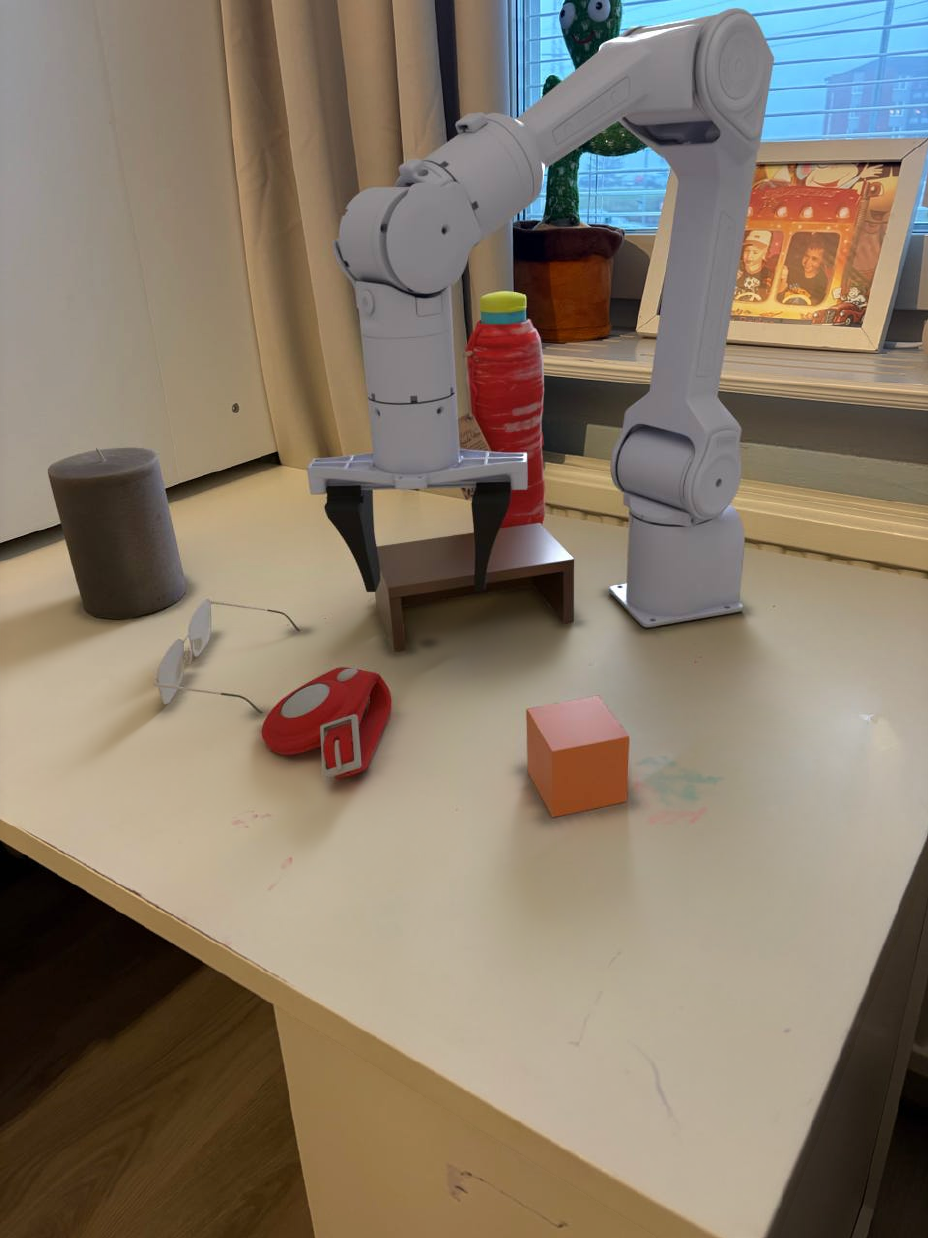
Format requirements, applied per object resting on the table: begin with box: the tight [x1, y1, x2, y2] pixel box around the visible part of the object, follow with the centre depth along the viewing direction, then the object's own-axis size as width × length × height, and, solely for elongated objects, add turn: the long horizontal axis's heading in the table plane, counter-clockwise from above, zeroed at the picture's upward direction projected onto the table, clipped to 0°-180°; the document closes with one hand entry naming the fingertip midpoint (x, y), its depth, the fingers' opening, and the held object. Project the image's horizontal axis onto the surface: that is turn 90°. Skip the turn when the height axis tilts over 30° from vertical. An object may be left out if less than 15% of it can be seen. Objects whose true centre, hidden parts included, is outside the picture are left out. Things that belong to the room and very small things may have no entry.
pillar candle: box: [47, 446, 187, 620], centre depth 85 cm, size 10×10×15 cm
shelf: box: [374, 523, 575, 653], centre depth 80 cm, size 16×9×6 cm, turn 105°
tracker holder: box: [260, 666, 393, 779], centre depth 64 cm, size 12×4×10 cm
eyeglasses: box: [153, 598, 301, 715], centre depth 74 cm, size 14×8×4 cm, turn 177°
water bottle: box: [458, 290, 546, 529], centre depth 90 cm, size 12×8×25 cm, turn 124°
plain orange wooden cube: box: [525, 694, 631, 818], centre depth 58 cm, size 5×5×5 cm
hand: (426, 585), depth 64 cm, fingers open, 7 cm apart
